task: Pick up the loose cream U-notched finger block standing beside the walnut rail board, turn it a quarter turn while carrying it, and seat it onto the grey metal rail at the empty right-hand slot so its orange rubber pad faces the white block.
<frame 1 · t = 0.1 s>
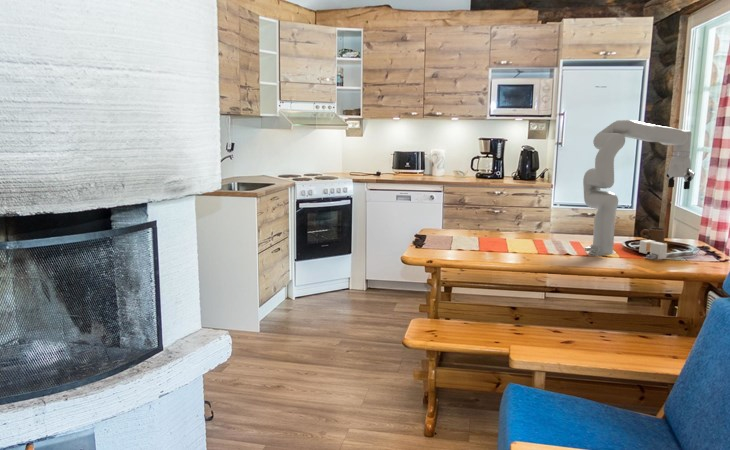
hand: (678, 188, 294), 31 cm above the table, fingers open, 9 cm apart
white block: (657, 257, 272), resting on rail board
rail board: (669, 258, 274), on the table
mug: (651, 246, 303), on the table
loose finger: (646, 254, 284), on the table
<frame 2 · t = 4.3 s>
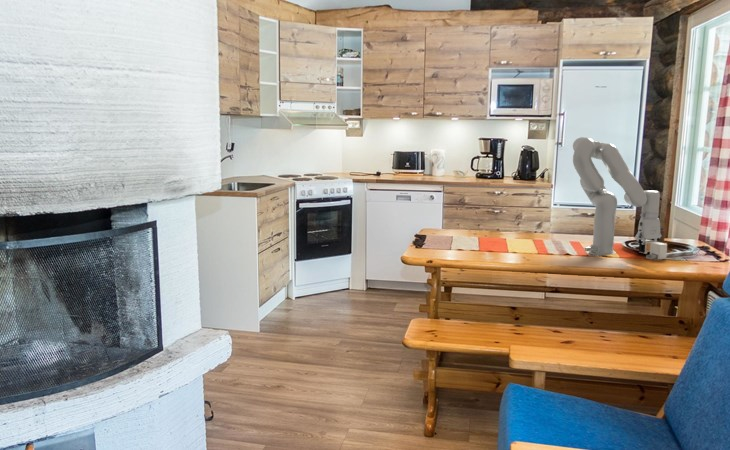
hand: (647, 251, 283), 2 cm above the table, fingers closed on loose finger, 6 cm apart
loose finger: (646, 254, 284), on the table, touching gripper
everything else where it was.
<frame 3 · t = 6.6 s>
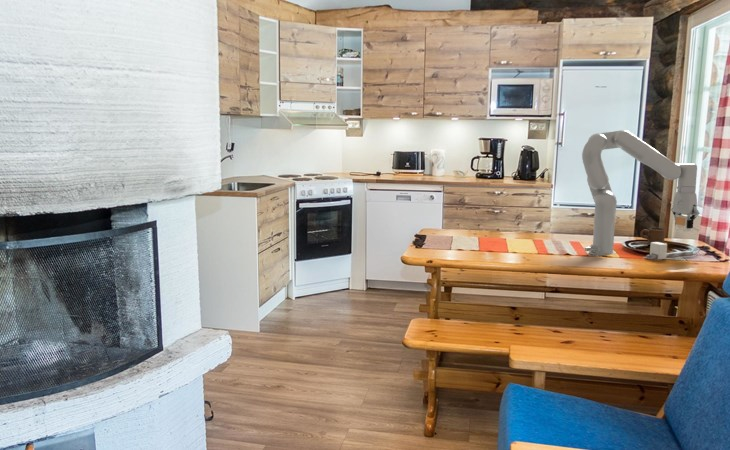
hand: (683, 226, 274), 15 cm above the table, fingers closed on loose finger, 6 cm apart
loose finger: (683, 230, 274), point 14 cm above the table, touching gripper
everything else where it was.
when the fingers open (4 cm above the table, at t = 9.1 s): loose finger stays where it is, resting on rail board.
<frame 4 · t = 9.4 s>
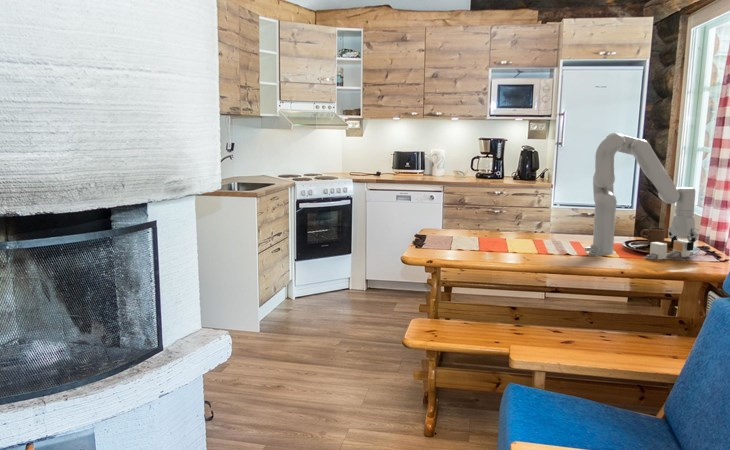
hand: (681, 248, 275), 5 cm above the table, fingers open, 9 cm apart
loose finger: (681, 255, 276), point 1 cm above the table, touching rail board
everything else where it was.
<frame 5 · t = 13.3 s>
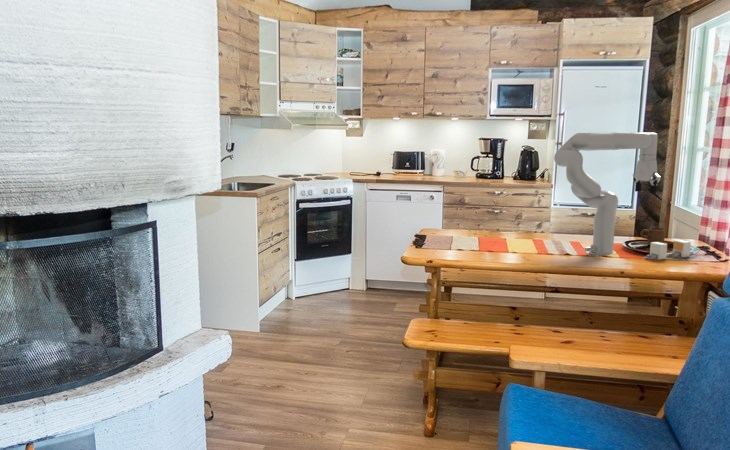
hand: (645, 192, 286), 30 cm above the table, fingers open, 9 cm apart
nothing on the table moved.
at the end: loose finger 0.1 cm from the target spot on the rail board, point 1.2 cm above the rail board's base; loose finger tilted 0°; the gripper is holding nothing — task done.
